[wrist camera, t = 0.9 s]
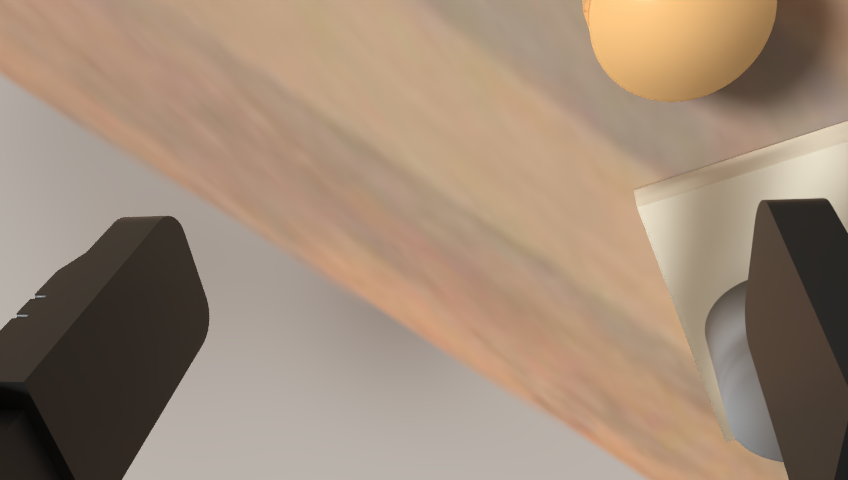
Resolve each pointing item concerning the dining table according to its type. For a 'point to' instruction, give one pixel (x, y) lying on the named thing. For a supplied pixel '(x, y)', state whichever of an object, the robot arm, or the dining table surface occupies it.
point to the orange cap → (677, 43)
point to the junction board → (734, 260)
